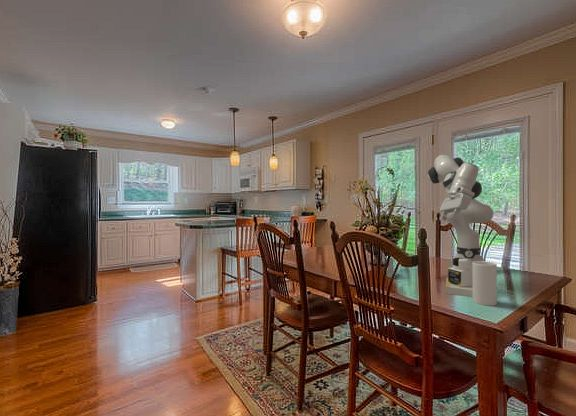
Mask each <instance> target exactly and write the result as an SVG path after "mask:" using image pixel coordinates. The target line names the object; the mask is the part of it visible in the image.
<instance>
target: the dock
mask: <svg viewBox="0 0 576 416" xmlns="http://www.w3.org/2000/svg"><path fill="white" fill-rule="evenodd" d="M445 279H446V280H445V294H447V295H454V296H462V297H464V296H465V297H472V298H473V285H472V286H465V287H459V286H456V285H453V284H450V283H448V276H447V277H445Z"/></svg>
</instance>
